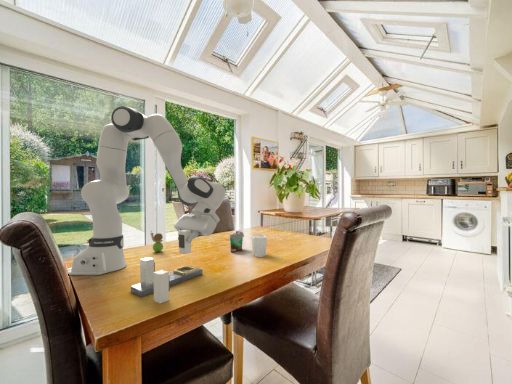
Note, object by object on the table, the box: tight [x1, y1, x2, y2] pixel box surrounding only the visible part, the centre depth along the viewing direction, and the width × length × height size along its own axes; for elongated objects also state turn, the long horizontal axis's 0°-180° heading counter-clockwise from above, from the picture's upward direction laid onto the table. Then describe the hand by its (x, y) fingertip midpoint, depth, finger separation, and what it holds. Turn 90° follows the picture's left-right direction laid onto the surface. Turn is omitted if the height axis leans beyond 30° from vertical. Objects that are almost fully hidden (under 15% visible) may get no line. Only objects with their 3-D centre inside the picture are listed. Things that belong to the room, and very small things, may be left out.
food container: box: [229, 230, 245, 253], centre depth 138 cm, size 12×6×10 cm, turn 168°
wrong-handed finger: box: [153, 269, 171, 305], centre depth 77 cm, size 4×4×9 cm
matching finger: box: [178, 230, 192, 255], centre depth 97 cm, size 4×4×9 cm
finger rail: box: [130, 256, 203, 298], centre depth 91 cm, size 26×7×11 cm, turn 145°
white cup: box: [251, 234, 268, 258], centre depth 128 cm, size 8×8×10 cm
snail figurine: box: [150, 230, 164, 253], centre depth 135 cm, size 5×6×12 cm
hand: (183, 241), depth 97 cm, fingers closed on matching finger, 3 cm apart
